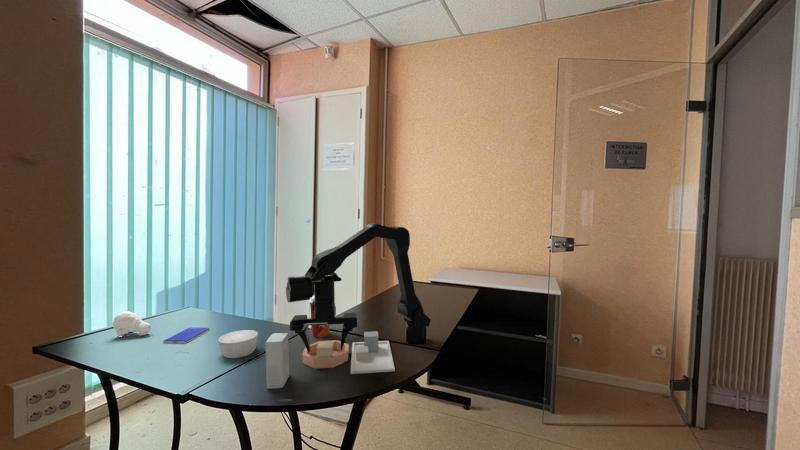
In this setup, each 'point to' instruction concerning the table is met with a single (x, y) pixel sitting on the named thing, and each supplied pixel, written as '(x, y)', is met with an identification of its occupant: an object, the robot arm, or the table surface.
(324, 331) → the paper cup
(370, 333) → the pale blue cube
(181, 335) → the hard drive
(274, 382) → the skincare box
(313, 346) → the terracotta dish
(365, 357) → the beige grey block
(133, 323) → the white animal figurine
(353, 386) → the table surface
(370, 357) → the parts tray
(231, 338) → the ramekin
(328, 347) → the cream cube
